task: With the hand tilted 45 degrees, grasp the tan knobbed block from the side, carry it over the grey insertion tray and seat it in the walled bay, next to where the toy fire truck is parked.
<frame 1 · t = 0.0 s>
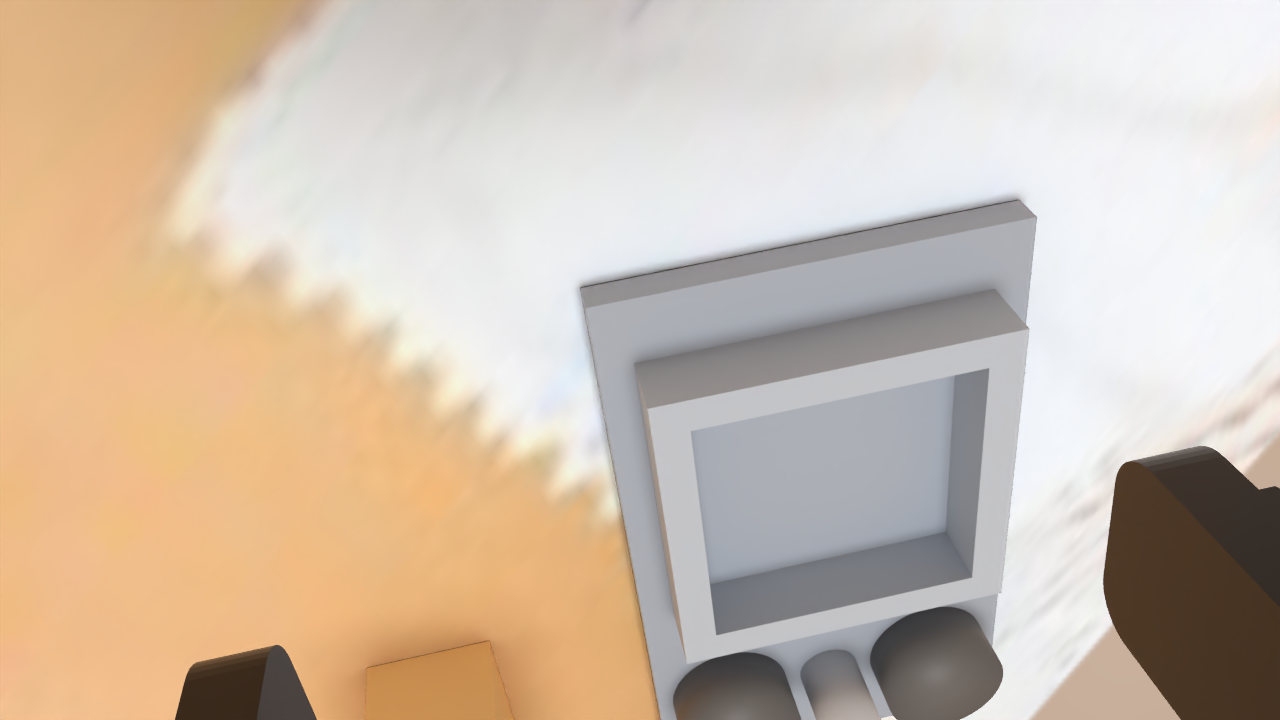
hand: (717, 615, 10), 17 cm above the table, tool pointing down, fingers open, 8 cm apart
tan knobbed block: (445, 701, 36), on the table
grey insertion tray: (814, 514, 34), on the table
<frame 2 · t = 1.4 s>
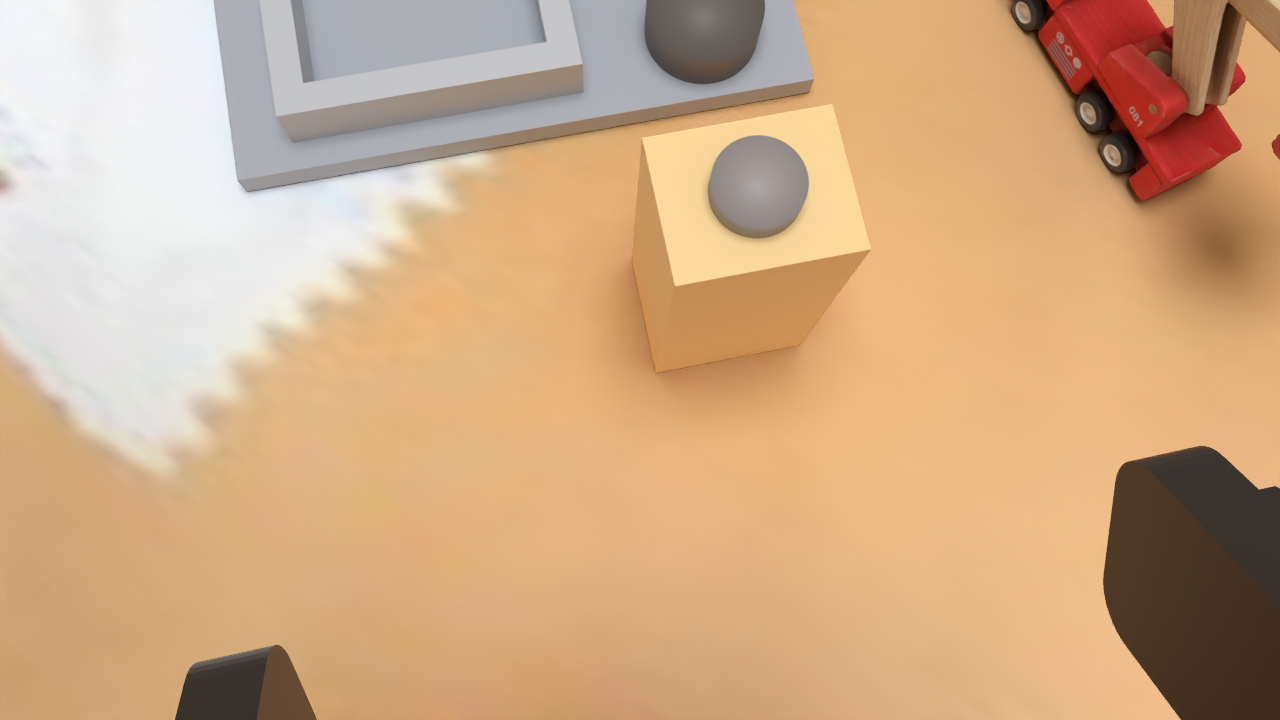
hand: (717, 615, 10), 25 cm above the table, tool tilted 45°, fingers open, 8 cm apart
toy fire truck: (1119, 118, 39), on the table
tan knobbed block: (715, 303, 37), on the table
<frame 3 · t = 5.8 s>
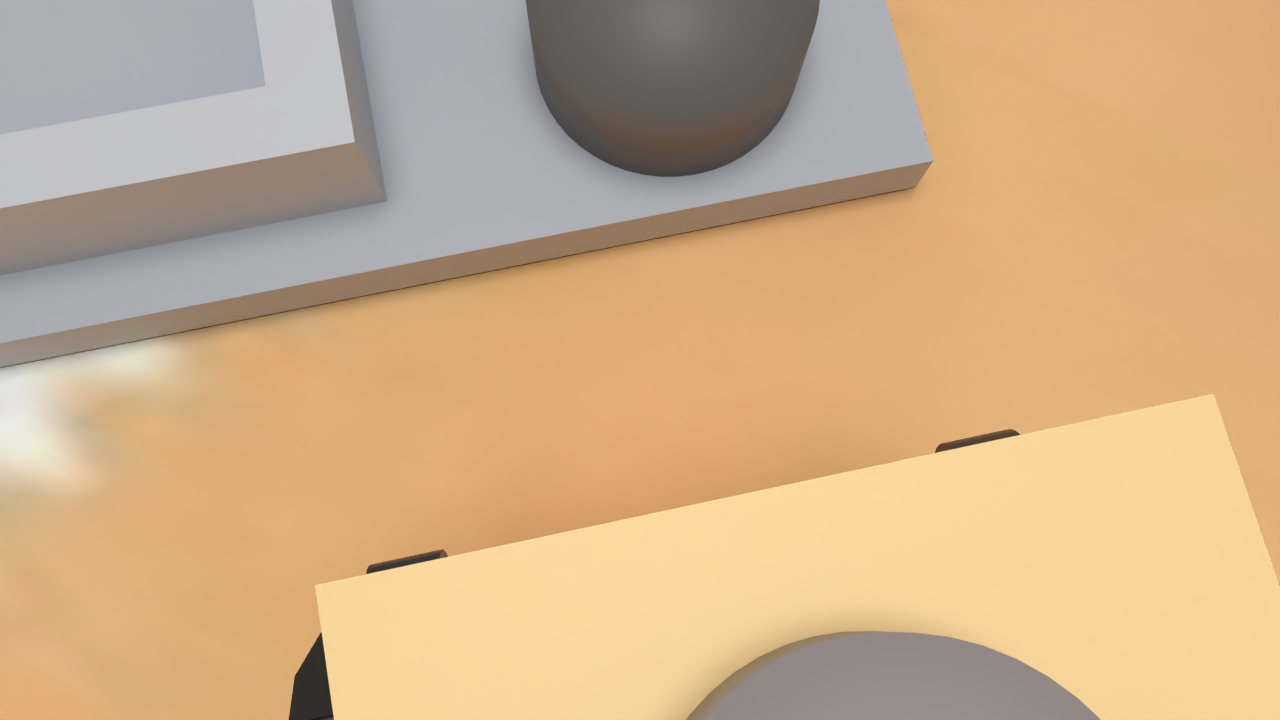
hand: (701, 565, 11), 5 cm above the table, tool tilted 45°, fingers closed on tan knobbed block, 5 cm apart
tan knobbed block: (706, 713, 15), on the table, touching gripper
when the fingers open (7 cm above the table, at t = 11.1 s): tan knobbed block drops 1 cm, resting on grey insertion tray.
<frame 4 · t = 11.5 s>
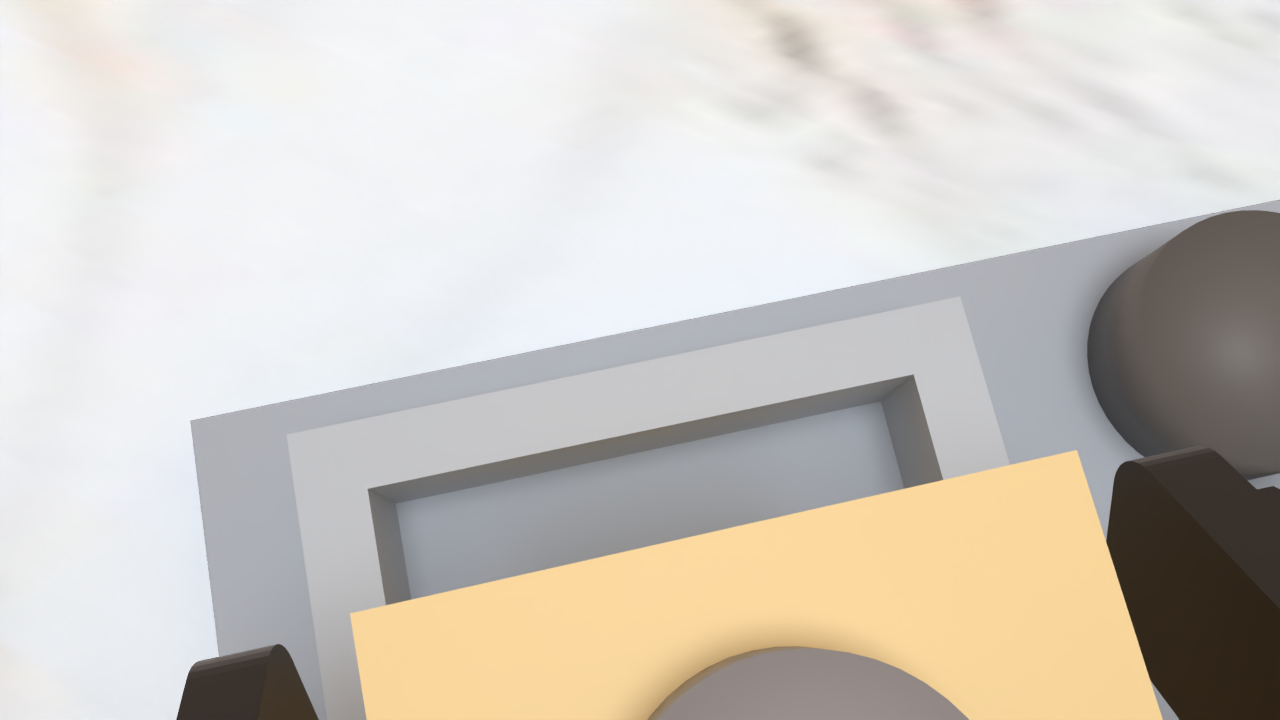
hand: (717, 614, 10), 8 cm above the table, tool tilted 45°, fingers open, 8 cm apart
tan knobbed block: (690, 712, 16), point 1 cm above the table, touching grey insertion tray
grey insertion tray: (871, 660, 18), on the table
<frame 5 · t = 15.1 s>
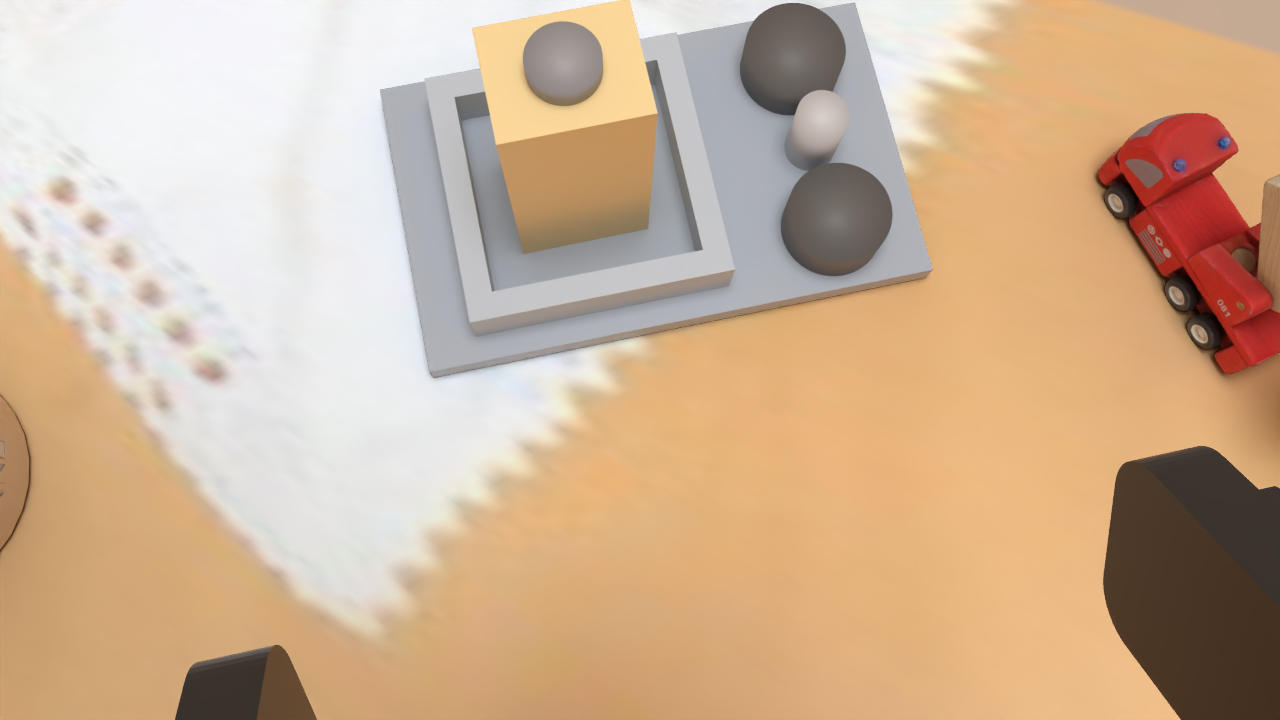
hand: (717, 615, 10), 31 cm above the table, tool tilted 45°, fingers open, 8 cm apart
toy fire truck: (1203, 296, 44), on the table
tan knobbed block: (575, 194, 43), point 1 cm above the table, touching grey insertion tray
grey insertion tray: (651, 188, 44), on the table
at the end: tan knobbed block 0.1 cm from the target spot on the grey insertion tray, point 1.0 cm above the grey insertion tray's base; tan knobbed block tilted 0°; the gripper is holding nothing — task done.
